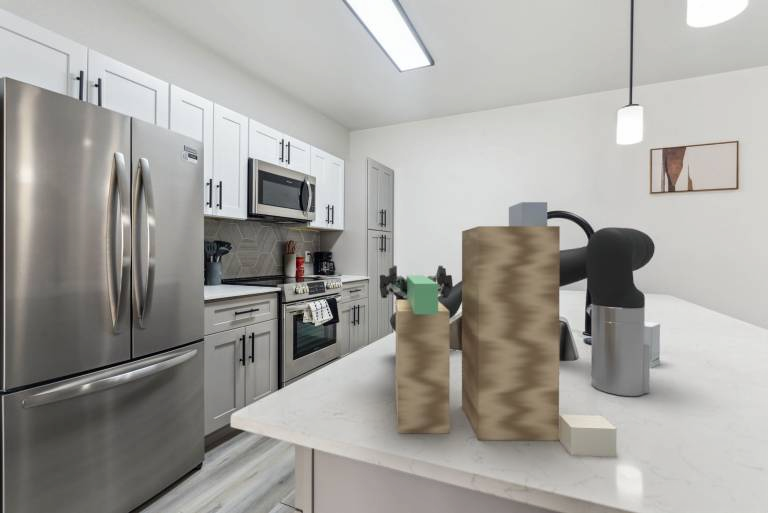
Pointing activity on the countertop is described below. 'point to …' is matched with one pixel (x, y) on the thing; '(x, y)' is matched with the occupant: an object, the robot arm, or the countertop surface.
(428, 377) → the oak ledge
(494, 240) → the oak shelf block
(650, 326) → the skincare box
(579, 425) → the cream brick
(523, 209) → the slate-blue brick
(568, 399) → the countertop surface
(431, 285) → the green bar
